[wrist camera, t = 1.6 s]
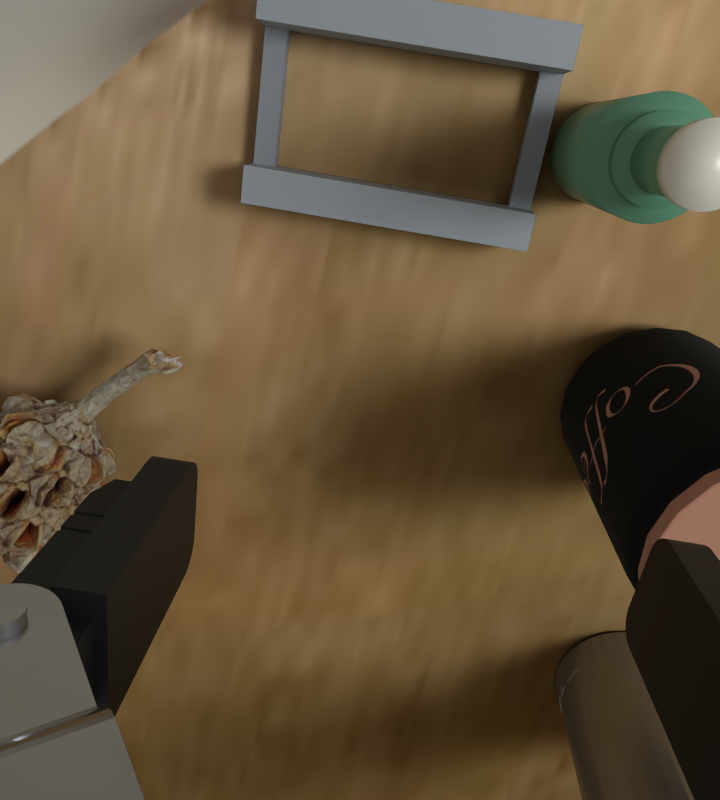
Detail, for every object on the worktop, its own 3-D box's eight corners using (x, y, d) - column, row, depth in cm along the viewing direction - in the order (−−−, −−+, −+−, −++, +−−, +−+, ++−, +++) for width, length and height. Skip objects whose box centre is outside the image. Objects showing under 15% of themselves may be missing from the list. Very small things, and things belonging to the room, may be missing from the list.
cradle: (570, 33, 35) (583, 24, 32) (519, 243, 39) (527, 251, 36) (272, -15, 35) (259, -28, 32) (253, 197, 39) (240, 202, 37)
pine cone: (60, 551, 50) (-21, 644, 41) (-46, 469, 48) (-155, 548, 39) (243, 359, 43) (195, 420, 34) (128, 255, 41) (44, 289, 32)
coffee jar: (631, 288, 39) (783, 402, 23) (769, 380, 41) (1009, 551, 24) (522, 425, 43) (585, 607, 27) (652, 505, 45) (789, 726, 28)
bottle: (658, 110, 36) (819, 94, 21) (629, 208, 38) (758, 255, 23) (563, 94, 36) (659, 68, 21) (538, 193, 38) (611, 230, 23)
